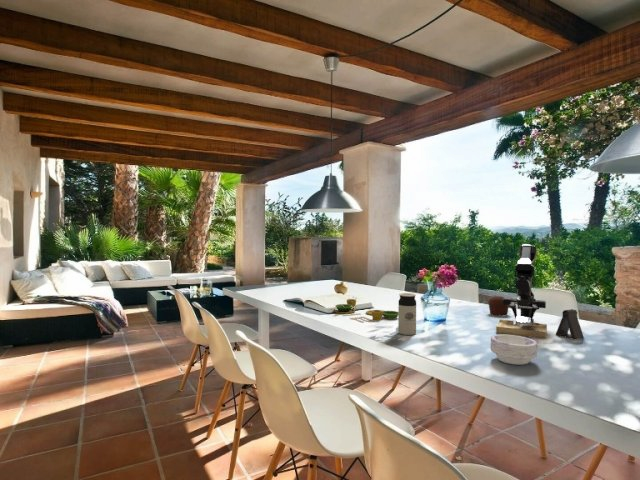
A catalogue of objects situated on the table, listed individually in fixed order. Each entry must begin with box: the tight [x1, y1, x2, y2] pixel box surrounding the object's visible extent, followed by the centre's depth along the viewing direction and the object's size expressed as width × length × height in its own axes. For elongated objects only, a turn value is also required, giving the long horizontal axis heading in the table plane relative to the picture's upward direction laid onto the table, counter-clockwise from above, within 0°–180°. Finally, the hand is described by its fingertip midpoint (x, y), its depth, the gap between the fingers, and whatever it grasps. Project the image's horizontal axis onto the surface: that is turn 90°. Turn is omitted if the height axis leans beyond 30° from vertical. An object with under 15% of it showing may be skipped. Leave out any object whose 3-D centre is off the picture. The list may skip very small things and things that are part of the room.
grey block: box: [514, 315, 532, 326], centre depth 197 cm, size 10×6×4 cm, turn 149°
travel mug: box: [397, 292, 417, 336], centre depth 187 cm, size 8×8×18 cm
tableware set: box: [332, 298, 398, 324], centre depth 232 cm, size 41×28×6 cm
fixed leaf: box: [495, 319, 548, 339], centre depth 189 cm, size 14×20×4 cm
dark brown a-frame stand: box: [555, 308, 585, 341], centre depth 182 cm, size 9×6×12 cm, turn 26°
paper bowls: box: [490, 334, 538, 366], centre depth 148 cm, size 15×15×8 cm
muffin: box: [487, 295, 510, 317], centre depth 232 cm, size 12×11×10 cm
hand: (523, 320), depth 199 cm, fingers closed on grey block, 6 cm apart
